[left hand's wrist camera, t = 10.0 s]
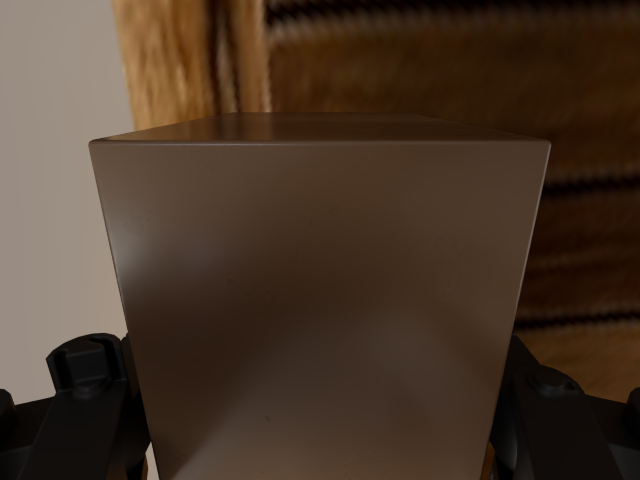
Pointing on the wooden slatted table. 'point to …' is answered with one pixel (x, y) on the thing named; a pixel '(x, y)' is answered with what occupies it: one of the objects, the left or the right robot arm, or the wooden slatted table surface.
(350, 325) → the bar
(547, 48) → the wooden slatted table surface
